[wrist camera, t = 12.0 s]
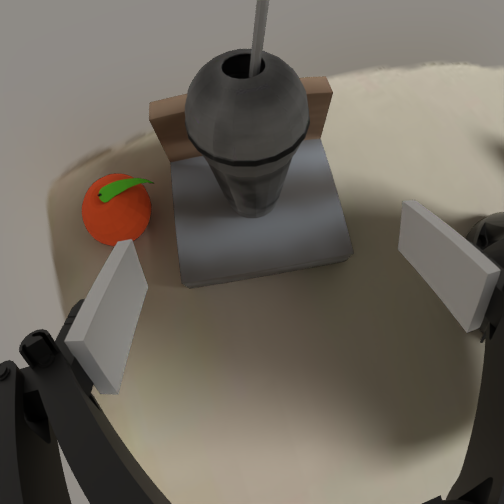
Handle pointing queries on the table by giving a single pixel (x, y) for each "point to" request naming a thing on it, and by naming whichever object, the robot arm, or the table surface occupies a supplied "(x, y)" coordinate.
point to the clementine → (116, 208)
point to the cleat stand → (253, 229)
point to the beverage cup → (248, 121)
